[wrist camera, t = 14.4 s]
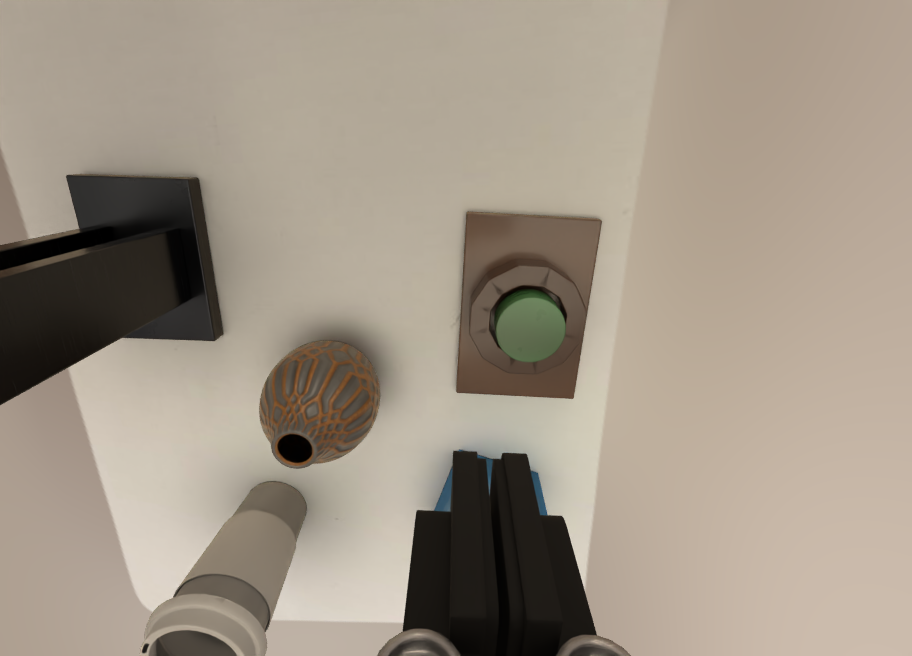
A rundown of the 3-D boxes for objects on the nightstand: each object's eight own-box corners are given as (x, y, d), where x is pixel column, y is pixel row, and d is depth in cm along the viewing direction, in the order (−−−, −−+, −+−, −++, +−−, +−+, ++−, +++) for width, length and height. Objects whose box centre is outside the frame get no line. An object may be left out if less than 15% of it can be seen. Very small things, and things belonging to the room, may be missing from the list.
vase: (271, 338, 31) (204, 405, 23) (370, 316, 31) (336, 377, 22) (307, 425, 34) (256, 513, 26) (399, 406, 33) (378, 491, 25)
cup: (249, 455, 35) (147, 600, 24) (333, 488, 36) (274, 643, 24) (222, 522, 37) (118, 684, 26) (302, 551, 38) (235, 720, 27)
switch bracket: (80, 173, 28) (-491, 211, 11) (198, 177, 28) (-198, 221, 11) (119, 331, 31) (-270, 537, 15) (223, 334, 31) (-48, 545, 15)
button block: (466, 211, 28) (467, 217, 26) (599, 218, 28) (611, 224, 26) (456, 388, 32) (455, 406, 30) (571, 394, 33) (579, 413, 30)
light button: (496, 286, 28) (498, 295, 26) (564, 290, 28) (570, 299, 26) (491, 348, 29) (493, 360, 27) (555, 352, 29) (561, 364, 27)
